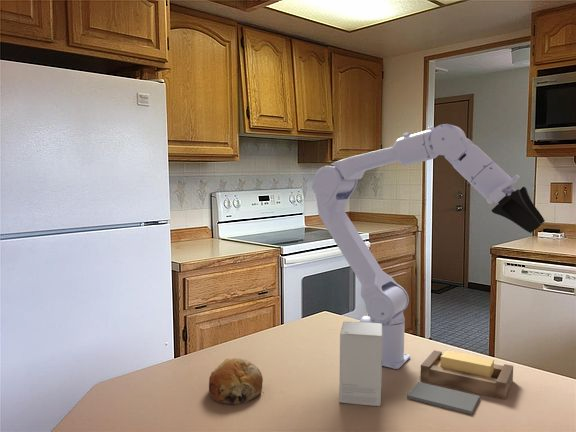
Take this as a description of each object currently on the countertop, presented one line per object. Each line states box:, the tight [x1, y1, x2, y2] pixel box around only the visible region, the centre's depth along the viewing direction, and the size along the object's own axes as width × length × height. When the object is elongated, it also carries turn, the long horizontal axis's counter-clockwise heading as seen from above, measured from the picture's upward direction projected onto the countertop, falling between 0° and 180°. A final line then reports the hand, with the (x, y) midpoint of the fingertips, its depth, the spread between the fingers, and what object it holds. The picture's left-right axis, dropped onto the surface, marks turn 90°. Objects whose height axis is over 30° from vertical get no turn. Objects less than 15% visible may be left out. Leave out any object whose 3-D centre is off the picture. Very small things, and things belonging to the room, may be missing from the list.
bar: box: [440, 349, 495, 377], centre depth 94 cm, size 9×4×2 cm, turn 58°
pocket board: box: [419, 350, 514, 400], centre depth 94 cm, size 15×9×3 cm, turn 58°
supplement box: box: [338, 321, 383, 407], centre depth 88 cm, size 7×7×13 cm
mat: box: [406, 381, 480, 416], centre depth 87 cm, size 11×6×1 cm, turn 58°
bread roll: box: [208, 357, 264, 405], centre depth 90 cm, size 10×10×8 cm
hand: (538, 226), depth 87 cm, fingers open, 7 cm apart
